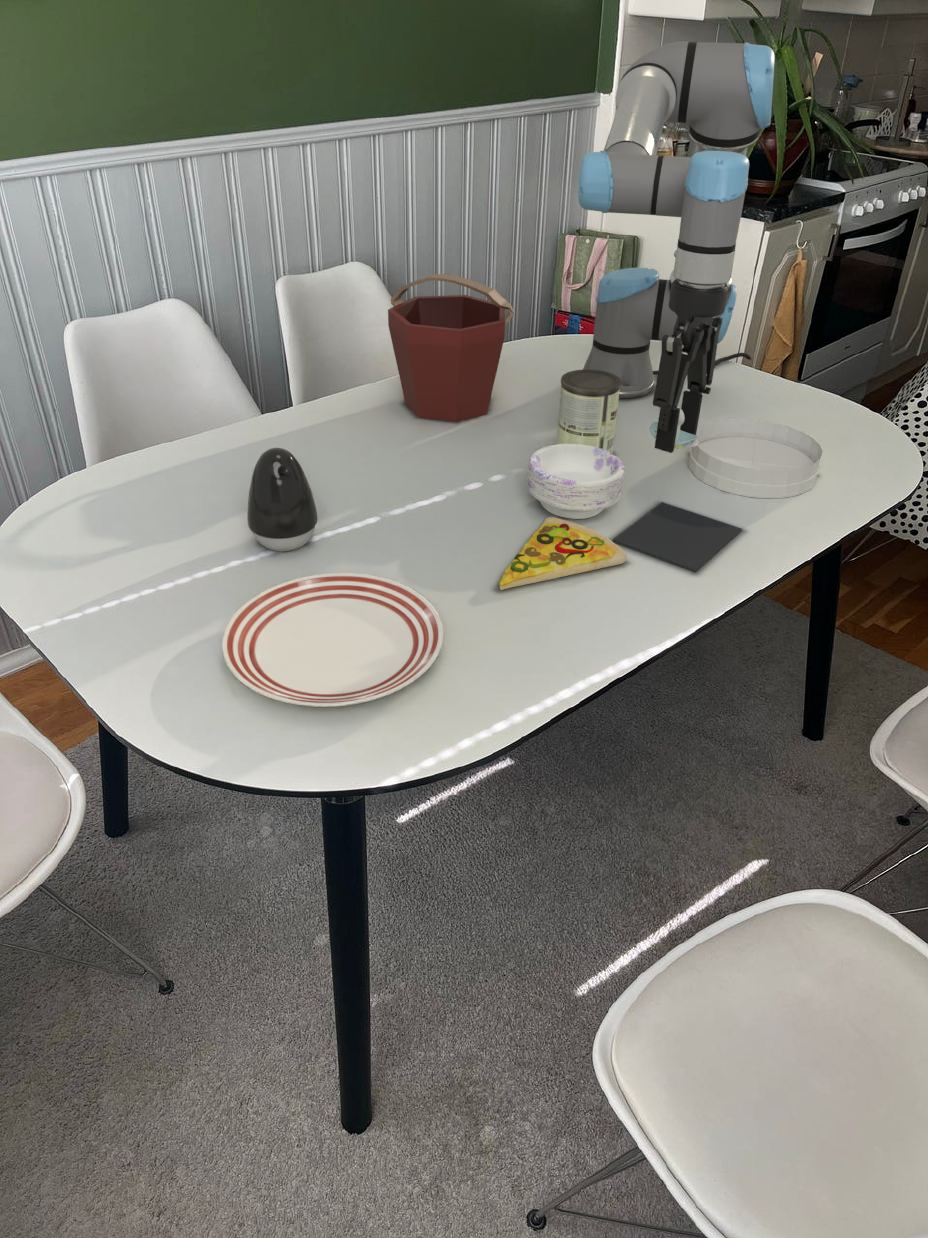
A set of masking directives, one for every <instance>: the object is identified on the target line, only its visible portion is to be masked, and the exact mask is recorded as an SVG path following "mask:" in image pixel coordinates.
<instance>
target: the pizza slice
mask: <svg viewBox="0 0 928 1238" xmlns="http://www.w3.org/2000/svg"><path fill="white" fill-rule="evenodd" d="M626 559H627V554H626V552H625V551H624V550H623V549H622V548H621V546H619V544H617V543H615V542H613V540H611V539H609V538H608V537H606V536H605V535H603V534H601V533H599V532H597V531H595V530H594V529H592V528H589V527H588V526H585V525H582V524H579V523H577V522H573V521H570V520H566V519H563V518H559V517H553V516H549V517H546V518H545V519H544V521H543V522H542V524H541V525H540V526H539V528H538V529H537V530H535V532H534V533H533V535H532V536H531V537H530V539H529V540H527V541H526V543H525V544H524V545H523V547H522V548H521V549H520V551H519V553H518V554H516V555H515V557H514V559H513V560H512V561H511V562H510V564H509V565H508V566H507V567H506V569H505V570H504V572H503V575H502V577H501V579H500V581H499V589H500V591H502V590H507V589H512V588H517V587H521V586H525V585H529V584H530V585H531V584H535V583H539V582H540V583H541V582H545V581H550V580H555V579H559V578H563V577H568V576H572V575H577V574H580V573H586V572H590V571H594V570H599V569H605V568H609V567H612V566H617V565H622V564H624V563H625V562H626Z"/></svg>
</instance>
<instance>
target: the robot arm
mask: <svg viewBox="0 0 928 1238" xmlns="http://www.w3.org/2000/svg"><path fill="white" fill-rule="evenodd" d="M775 60H776V55H775V52H774V50H773V49H772V48H771V46H768V45H764V44H753V43H749V42H747V41H746V42H745V41H744V43H740V42H736V43H735V42H703V41H701V42H700V41H696V42H695V41H687V40H685V41H680V40H679V41H674V42H670V43H669V42H668V43H666V44H663V45H661V46H658V47H656V48H653V49H652V50H650V51H648V52H647V53H644V54H643V55H642V56H640V57H639V58H638V59H636V60H635V61H634V62H633V63H632V64H631V65H630V66H629V67H628V68H627V69H626V71H625V72H624V73H623V75H622V77H621V79H620V81H619V83H618V86H617V89H616V93H615V100H614V101H615V102H614V103H615V107H616V108H615V110H616V112H615V115H614V118H613V121H612V124H611V127H610V131H609V133H608V137H607V139H606V142H605V145H604V148H603V150H600V151H590V152H586V153H585V154H584V155H583V157H582V160H581V165H580V170H579V178H578V179H579V180H578V204H579V206H580V207H581V208H582V209H583V210H585V211H594V212H601V213H603V214H610V213H612V214H625V215H626V214H627V215H628V214H629V215H645V216H658V217H672V218H680V224H679V225H680V226H679V232H678V233H679V234H678V239H677V244H676V245H677V246H676V250H675V251H674V252H673V256H674V258H675V260H674V266H673V270H672V271H671V273H670V276H669V279H663V278H660V277H661V276H660V272H659V271H658V270H657V269H654V268H648V267H629V268H621V269H616V270H613V271H610V272H608V273H606V274H604V275H603V276H602V277H601V278H600V280H599V284H598V289H597V296H596V297H595V302H596V306H595V307H596V308H595V318H594V327H593V335H592V336H593V337H592V347H591V349H590V352H589V354H588V356H587V358H586V361H585V364H584V366H583V368H582V370H585V369H589V370H600V371H605V372H608V373H611V374H614V375H616V376H617V377H619V378H620V380H621V387H620V391H619V399H635V398H640V397H643V396H646V395H649V394H651V392H652V391H653V390H654V393H653V399H652V407H653V406H654V407H657V408H659V413H658V420H657V422H658V427H657V433H656V438H655V442H654V449H656V450H660V451H663V452H667V453H669V454H672V453H673V452H674V450H675V449H674V445H675V439H676V433H677V426H678V420H679V414H680V408H681V409H682V411H683V413H684V417H685V419H684V423H683V424H682V425H681V426H680V430H682V431H684V432H687V433H690V434H693V435H696V432H697V429H698V425H699V419H700V415H701V414H700V413H701V409H702V408H701V407H702V403H703V397H704V396H703V394H705V395H709V394H711V391H712V388H711V387H709V386H711V385H712V384H713V379H714V371H715V366H717V365H718V364H720V363H722V362H726V361H730V360H733V359H737V358H740V357H742V358H745V359H746V360H749V361H750V360H752V357H751V355H750V354H748V353H746V352H737V353H733V354H730V355H726V356H723V357H720V358H717V359H716V357H717V351H718V350H717V349H718V344H720V343H721V342H722V341H724V339H725V336H726V334H727V332H728V329H729V327H730V323H731V320H732V317H733V311H734V308H735V305H736V301H737V295H738V287H737V286H736V285H734V284H733V283H732V275H733V267H734V263H735V261H734V260H735V255H736V247H737V239H738V233H739V229H740V224H741V220H742V219H741V218H742V213H743V207H744V202H745V196H746V191H747V189H748V186H749V183H748V181H749V170H750V160H749V158H748V157H747V153H748V148H749V147H750V146H752V145H753V144H754V143H755V142H757V140H758V139H759V136H760V132H761V129H762V130H763V129H766V128H769V127H770V126H771V121H772V107H773V106H772V105H773V92H774V75H775ZM665 123H678V124H689V130H688V135H689V137H690V139H691V140H692V141H693V142H694V143H695V144H696V145H695V153H694V154H692V156H676V155H675V156H673V155H672V156H671V155H659V154H657V153H658V150H659V145H660V140H661V137H662V136H661V135H662V132H663V129H664V124H665ZM651 341H658V342H661V354H660V359H659V360H660V361H659V366H658V370H653V366H652V361H651V356H650V347H651ZM655 376H656V382H655V378H654V377H655ZM686 381H687V383H686V384H687V387H686V388H687V390H684V391H683V389H684V385H685V382H686ZM654 383H655V387H654ZM682 392H683V394H682ZM681 395H682V400H681V406H680V408H677V406H679V403H680V399H681Z"/></svg>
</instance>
